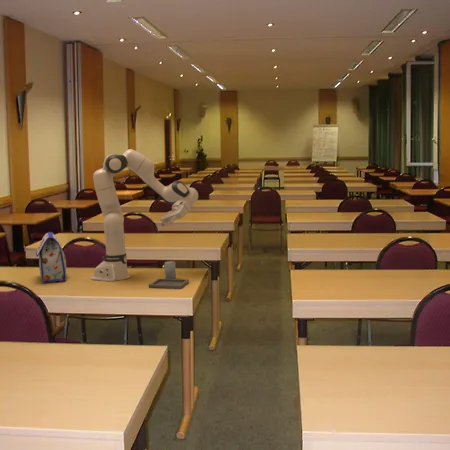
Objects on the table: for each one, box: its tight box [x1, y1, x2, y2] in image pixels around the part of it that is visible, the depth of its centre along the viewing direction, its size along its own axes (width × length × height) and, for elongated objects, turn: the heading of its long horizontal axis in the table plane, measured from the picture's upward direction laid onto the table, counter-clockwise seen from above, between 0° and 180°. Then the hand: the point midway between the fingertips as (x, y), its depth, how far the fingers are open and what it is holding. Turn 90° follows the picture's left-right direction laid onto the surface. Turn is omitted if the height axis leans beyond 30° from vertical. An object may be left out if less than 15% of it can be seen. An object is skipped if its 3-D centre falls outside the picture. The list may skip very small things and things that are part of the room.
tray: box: [148, 278, 190, 290], centre depth 351 cm, size 18×14×2 cm
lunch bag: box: [35, 231, 67, 284], centre depth 375 cm, size 23×17×27 cm
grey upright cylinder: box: [164, 260, 177, 279], centre depth 364 cm, size 6×6×10 cm
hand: (165, 224), depth 364 cm, fingers open, 8 cm apart
